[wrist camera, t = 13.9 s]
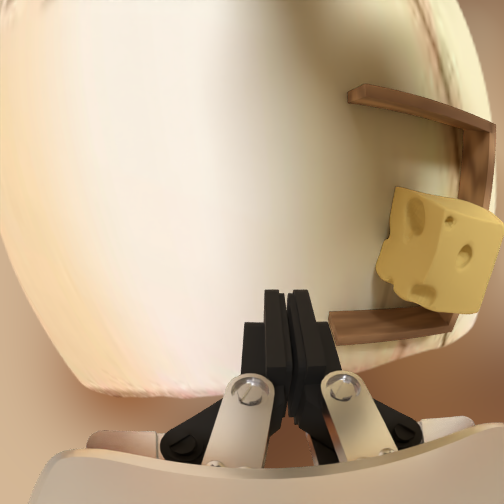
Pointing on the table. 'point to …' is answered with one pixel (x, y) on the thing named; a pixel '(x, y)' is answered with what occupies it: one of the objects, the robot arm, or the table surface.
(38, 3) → the table surface
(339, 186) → the table surface
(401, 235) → the cheese
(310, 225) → the table surface
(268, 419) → the robot arm
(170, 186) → the table surface
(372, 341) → the wooden u-shaped bracket
